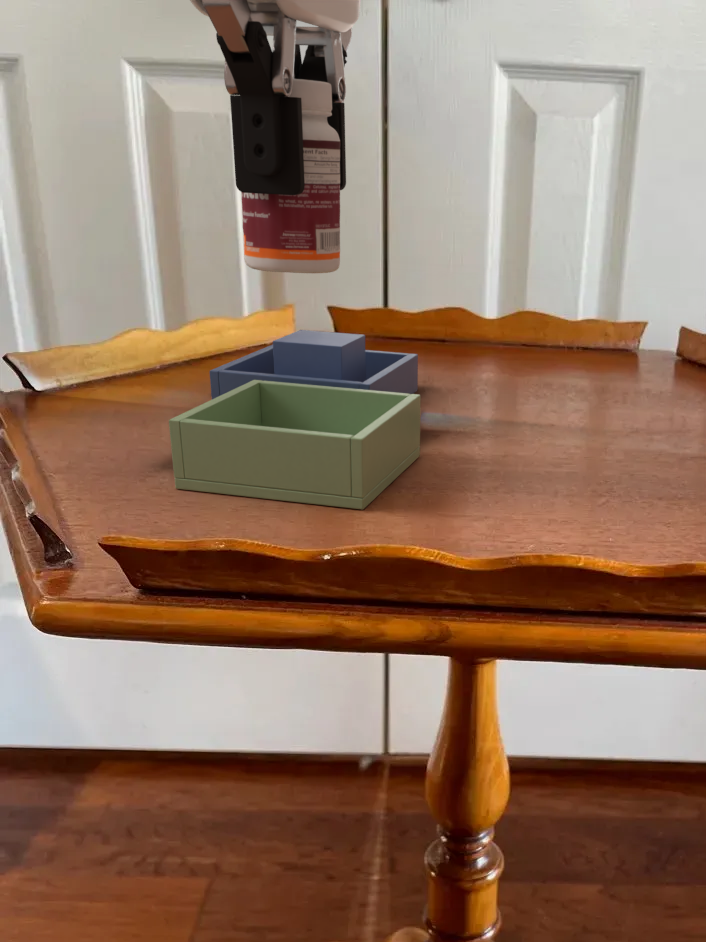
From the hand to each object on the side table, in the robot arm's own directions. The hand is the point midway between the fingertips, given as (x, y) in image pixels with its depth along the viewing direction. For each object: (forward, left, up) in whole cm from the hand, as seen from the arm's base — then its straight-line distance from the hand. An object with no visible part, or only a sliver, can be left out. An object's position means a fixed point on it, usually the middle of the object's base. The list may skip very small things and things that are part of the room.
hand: (293, 187), depth 50 cm
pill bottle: (0, 0, -4) cm, 4 cm away
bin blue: (-4, +12, -14) cm, 19 cm away
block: (-3, +12, -14) cm, 18 cm away
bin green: (0, 0, -14) cm, 14 cm away
